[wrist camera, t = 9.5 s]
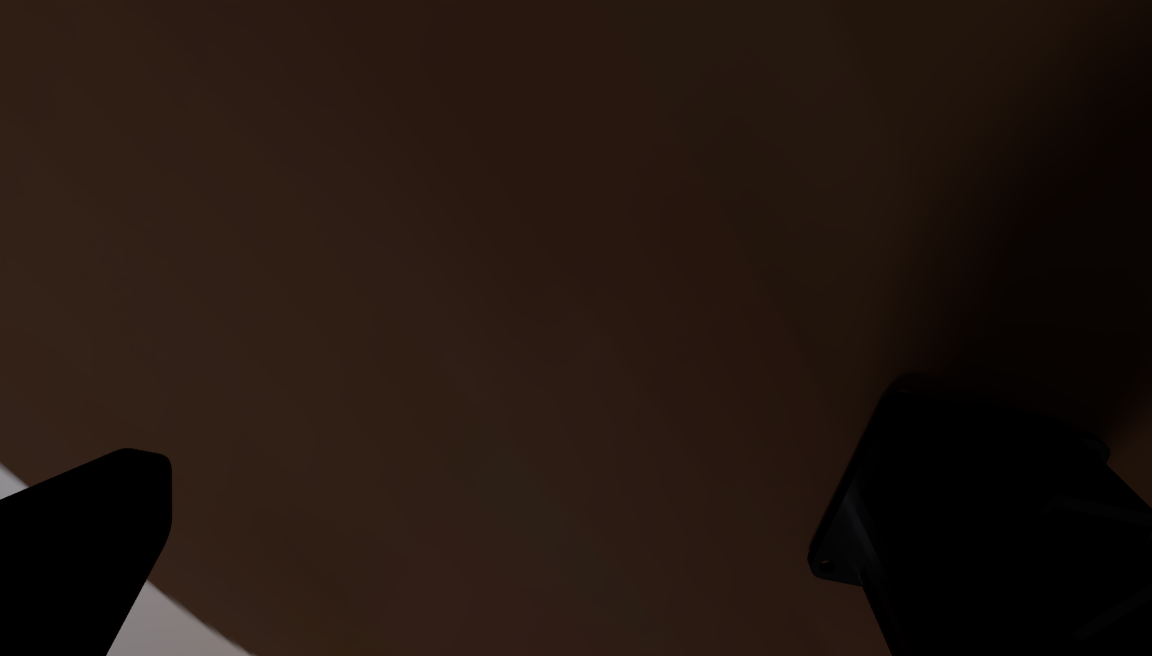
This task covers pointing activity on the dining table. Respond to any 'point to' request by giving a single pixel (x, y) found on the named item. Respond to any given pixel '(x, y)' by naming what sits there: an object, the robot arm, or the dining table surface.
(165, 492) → the robot arm
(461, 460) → the dining table surface
